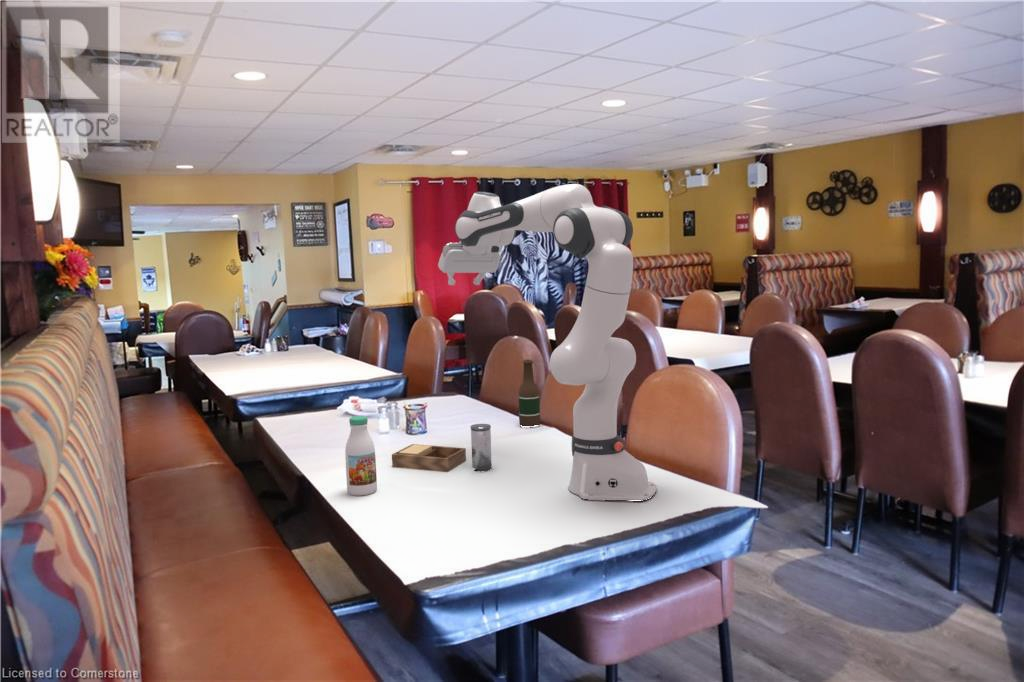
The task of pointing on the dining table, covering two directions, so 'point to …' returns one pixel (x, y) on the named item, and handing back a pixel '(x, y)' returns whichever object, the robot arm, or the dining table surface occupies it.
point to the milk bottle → (360, 459)
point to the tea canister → (481, 447)
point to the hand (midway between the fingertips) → (463, 284)
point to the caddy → (431, 459)
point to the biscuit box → (417, 450)
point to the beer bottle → (528, 398)
